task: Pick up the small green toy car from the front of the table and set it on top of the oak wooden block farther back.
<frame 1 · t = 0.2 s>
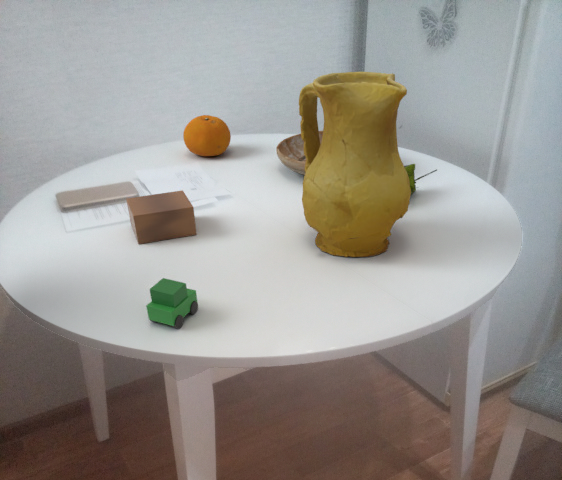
ceramic bowl: (331, 170, 121), on the table
toy car: (174, 316, 76), on the table
wooden block: (163, 230, 98), on the table
toy tank: (411, 197, 108), on the table
fruit: (209, 154, 130), on the table
pitcher: (350, 239, 95), on the table
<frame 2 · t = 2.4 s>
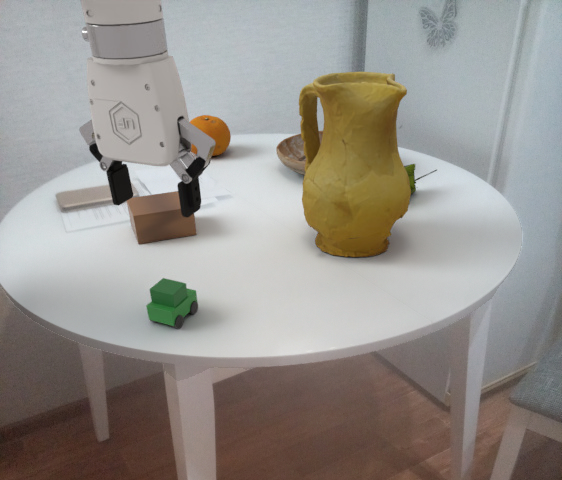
hand: (156, 206, 67), 16 cm above the table, tool pointing down, fingers open, 9 cm apart
nothing on the table moved.
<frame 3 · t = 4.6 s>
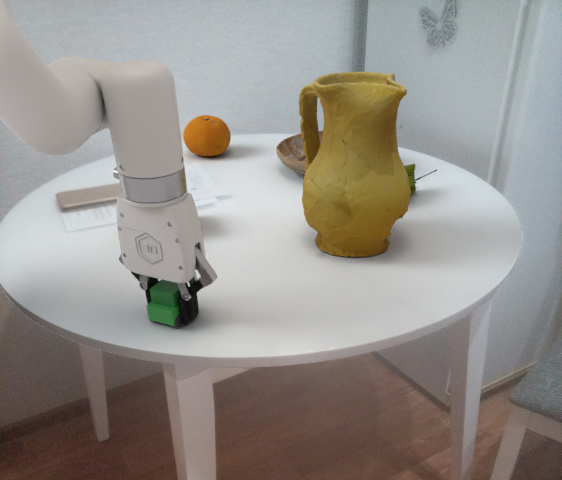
hand: (174, 314, 76), 0 cm above the table, tool pointing down, fingers closed on toy car, 4 cm apart
toy car: (174, 316, 76), on the table, touching gripper
everything else where it was.
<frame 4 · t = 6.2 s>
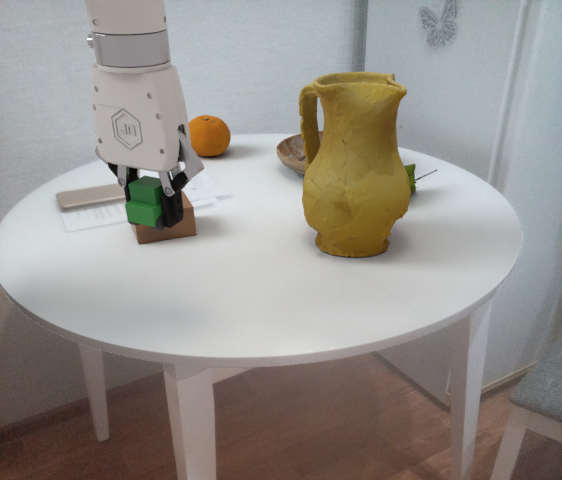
hand: (156, 218, 69), 14 cm above the table, tool pointing down, fingers closed on toy car, 4 cm apart
toy car: (156, 221, 69), point 13 cm above the table, touching gripper
everything else where it was.
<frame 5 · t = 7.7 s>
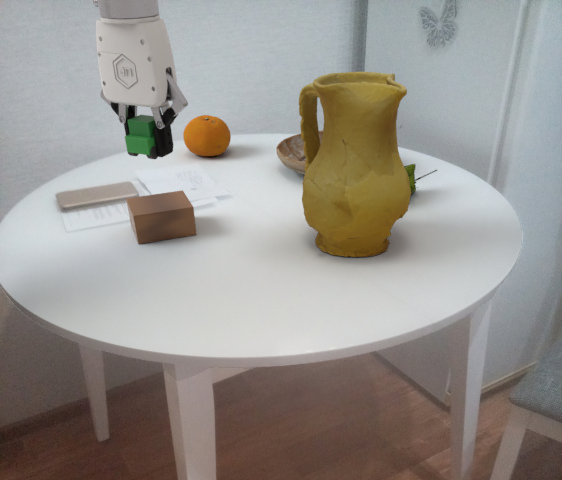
hand: (151, 150, 83), 15 cm above the table, tool pointing down, fingers closed on toy car, 4 cm apart
toy car: (151, 153, 84), point 15 cm above the table, touching gripper
everything else where it was.
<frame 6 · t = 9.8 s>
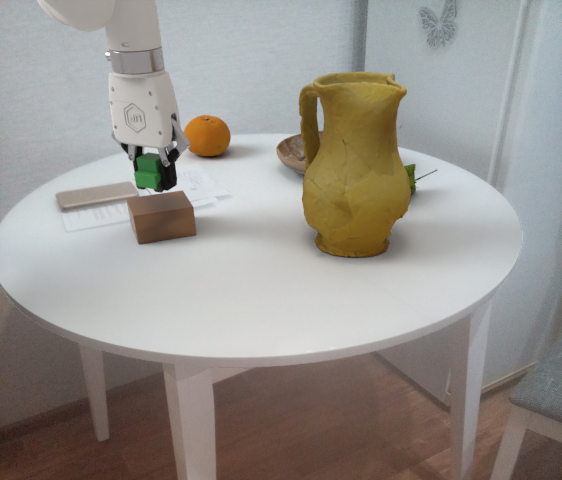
hand: (157, 184, 93), 8 cm above the table, tool pointing down, fingers closed on toy car, 4 cm apart
toy car: (157, 186, 93), point 8 cm above the table, touching gripper
everything else where it was.
when the fingers open (5 cm above the table, at t = 10.9 s): toy car stays where it is, resting on wooden block.
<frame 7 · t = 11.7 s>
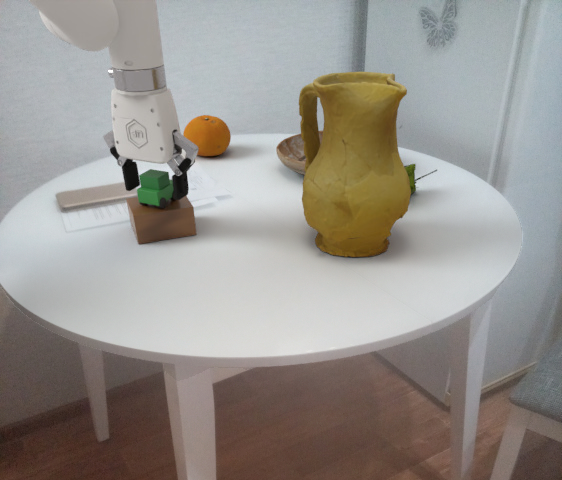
hand: (157, 192, 94), 7 cm above the table, tool pointing down, fingers open, 9 cm apart
toy car: (159, 202, 95), point 5 cm above the table, touching wooden block
wooden block: (163, 230, 98), on the table, touching toy car
everything else where it was.
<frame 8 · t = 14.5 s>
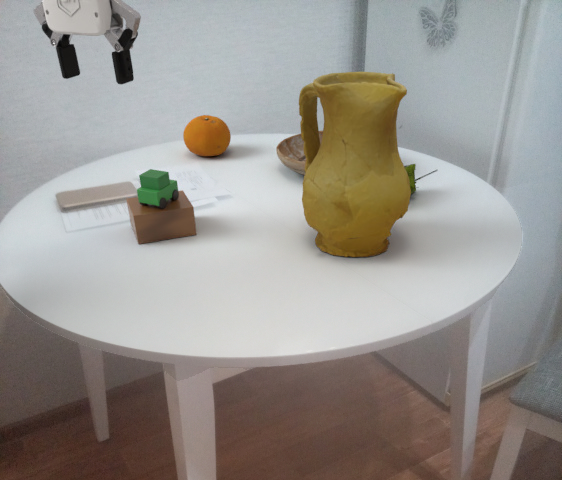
hand: (98, 79, 81), 24 cm above the table, tool pointing down, fingers open, 9 cm apart
nothing on the table moved.
at the end: toy car inside the target area on the wooden block (0.1 cm from its centre), point 5.0 cm above the wooden block's base; toy car tilted 0°; the gripper is holding nothing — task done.
